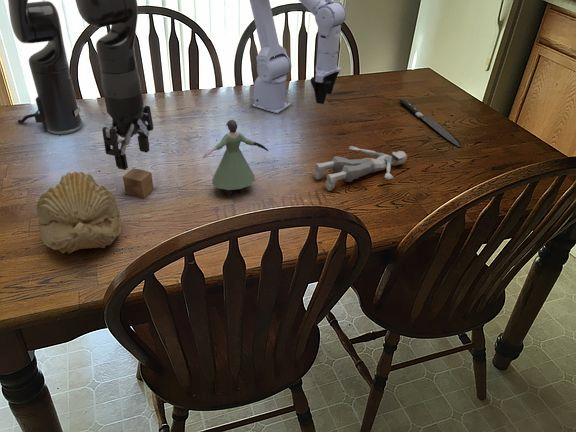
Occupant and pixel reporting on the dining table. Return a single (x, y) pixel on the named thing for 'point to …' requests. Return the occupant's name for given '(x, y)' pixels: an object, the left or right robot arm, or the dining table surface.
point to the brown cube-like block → (138, 183)
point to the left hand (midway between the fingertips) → (134, 159)
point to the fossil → (78, 214)
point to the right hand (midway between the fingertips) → (323, 98)
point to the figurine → (358, 166)
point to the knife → (429, 121)
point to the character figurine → (233, 162)
